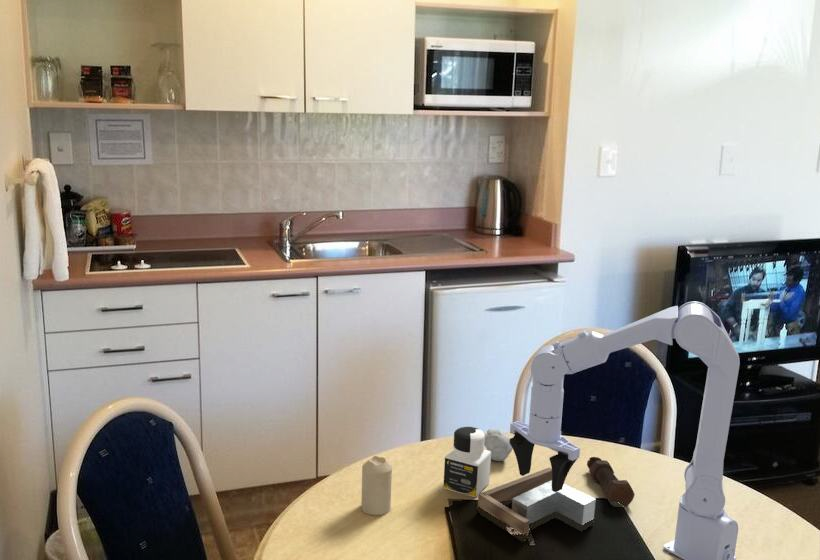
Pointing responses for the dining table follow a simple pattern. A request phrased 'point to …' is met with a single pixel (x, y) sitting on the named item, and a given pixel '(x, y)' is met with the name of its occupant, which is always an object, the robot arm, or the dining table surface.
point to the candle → (376, 486)
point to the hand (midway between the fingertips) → (540, 481)
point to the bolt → (610, 481)
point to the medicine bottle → (467, 463)
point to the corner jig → (507, 492)
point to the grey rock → (497, 444)
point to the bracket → (555, 503)
